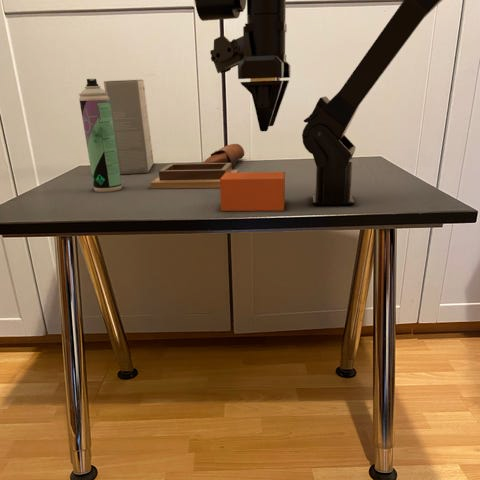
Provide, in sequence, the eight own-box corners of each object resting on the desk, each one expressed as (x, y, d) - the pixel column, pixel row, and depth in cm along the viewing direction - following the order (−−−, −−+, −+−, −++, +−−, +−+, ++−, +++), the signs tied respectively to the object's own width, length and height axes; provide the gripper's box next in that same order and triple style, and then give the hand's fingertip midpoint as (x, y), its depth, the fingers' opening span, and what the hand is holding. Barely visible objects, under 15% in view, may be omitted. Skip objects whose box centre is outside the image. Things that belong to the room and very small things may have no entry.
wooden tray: (230, 187, 94) (229, 171, 93) (151, 188, 96) (149, 173, 95) (238, 175, 107) (238, 161, 105) (168, 176, 109) (167, 162, 107)
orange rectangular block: (283, 210, 76) (283, 178, 74) (221, 211, 77) (219, 179, 75) (284, 202, 81) (284, 171, 79) (226, 202, 83) (225, 172, 80)
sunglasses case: (213, 157, 129) (224, 134, 126) (236, 171, 130) (247, 148, 127) (197, 168, 113) (209, 143, 110) (223, 184, 114) (236, 159, 111)
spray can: (109, 185, 101) (93, 78, 92) (127, 187, 98) (112, 77, 89) (88, 190, 97) (69, 79, 88) (106, 192, 94) (89, 78, 85)
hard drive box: (124, 165, 126) (113, 80, 118) (153, 163, 127) (144, 79, 118) (116, 174, 112) (102, 79, 104) (149, 173, 113) (138, 78, 104)
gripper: (225, 25, 81) (229, 124, 88) (198, 11, 65) (206, 135, 72) (291, 21, 79) (290, 123, 86) (281, 6, 63) (281, 134, 70)
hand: (267, 128), depth 78 cm, fingers open, 9 cm apart
